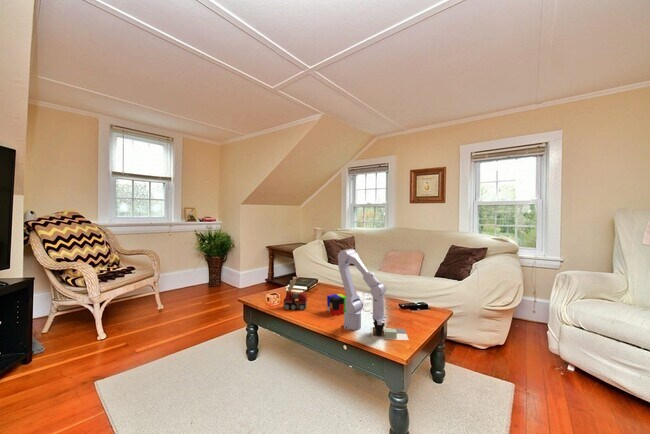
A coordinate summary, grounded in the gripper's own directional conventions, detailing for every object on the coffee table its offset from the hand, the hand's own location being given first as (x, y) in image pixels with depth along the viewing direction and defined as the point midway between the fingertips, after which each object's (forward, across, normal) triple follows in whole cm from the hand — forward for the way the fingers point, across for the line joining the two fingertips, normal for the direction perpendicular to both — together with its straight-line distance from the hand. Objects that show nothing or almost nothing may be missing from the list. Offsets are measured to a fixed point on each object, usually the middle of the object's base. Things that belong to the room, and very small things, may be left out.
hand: (378, 333), depth 142 cm
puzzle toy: (+2, +33, +24) cm, 41 cm away
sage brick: (+1, -2, -6) cm, 6 cm away
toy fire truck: (+2, +39, +53) cm, 66 cm away
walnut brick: (+1, 0, 0) cm, 1 cm away
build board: (+2, +2, -6) cm, 6 cm away
